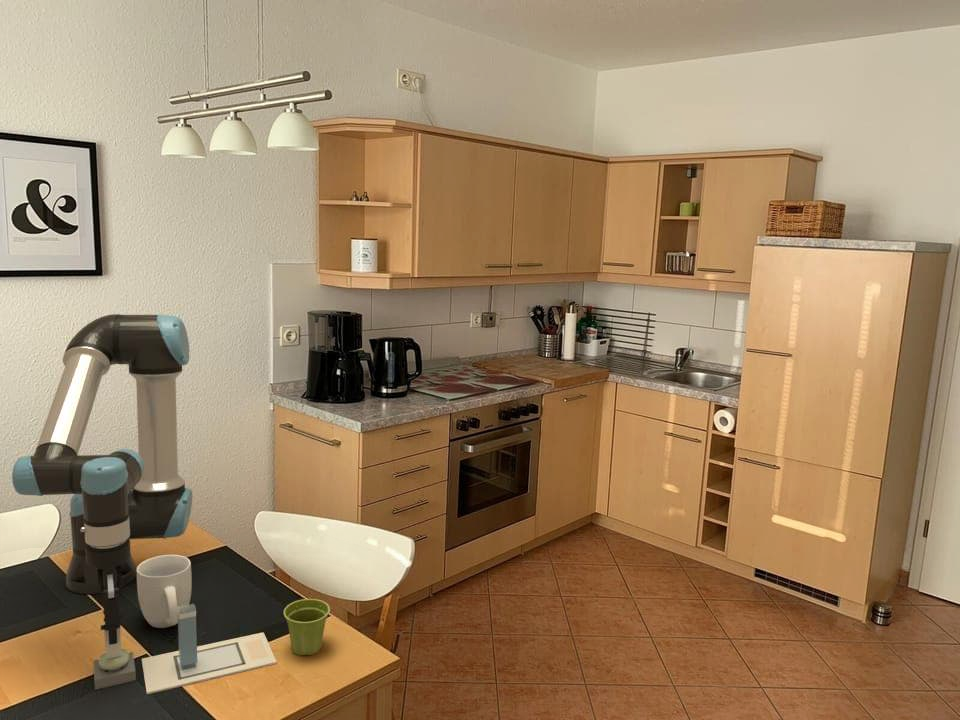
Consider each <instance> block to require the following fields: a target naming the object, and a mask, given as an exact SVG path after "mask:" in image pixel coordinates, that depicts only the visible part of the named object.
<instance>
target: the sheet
mask: <svg viewBox="0 0 960 720" xmlns="http://www.w3.org/2000/svg"><path fill="white" fill-rule="evenodd" d="M277 664H278V663H277V660H276V657H275V655H274V653H273V651H272V649H271V646H270V643H269V641H268V639H267V637H266V635H265V633H264V631H263V632H259V633H253V634H250V635H245V636H240V637H239V636H238V637H235V638H231V639H227V640H221V641H217V642H212V643H208V644H204V645H203V644H202V645H197V663H196V667H192V668H188V669H182V666H181V663H180V659H179V650H176V651H172V652H166V653H162V654H156V655H153V656H148V657H144V658H143V657H142V658H141V665H142V672H143V679H144V683H145V684H144V685H145V690H146V695H151V694H154V693H155V694H156V693H159V692H163V691H167V690H172V689H175V688H176V689H177V688H180V687H184V686H189V685H192V684H193V685H194V684H196V683H197V684H198V683H201V682H206V681H209V680H214V679H218V678H221V677H226V676H230V675H235V674H239V673H243V672H247V671H251V670H254V669H255V670H257V669H259V668H263V667H268V666H271V665H277Z"/></svg>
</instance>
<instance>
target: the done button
mask: <svg viewBox="0 0 960 720" xmlns="http://www.w3.org/2000/svg"><path fill="white" fill-rule="evenodd" d="M129 653H130V652H129V651H128V650H126V649H123V648H121V654H122V656H119V657H115V658H110V659H106V652H103V653H102V654H101V655H100V656H99V657H98V659H99V667H100V668H101V669H104V670H108V671H112V670H117V669H121V667H123V666H124V665H126V664H127V663H128V661H129Z"/></svg>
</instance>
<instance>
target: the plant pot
mask: <svg viewBox="0 0 960 720" xmlns="http://www.w3.org/2000/svg"><path fill="white" fill-rule="evenodd" d="M330 607H331V606H330V605H329V604H328V603H327V602H325V601H324V600H321V599H318V598H302V599H299V600H295V601H293V602H291V603H289V604H287V605H286V607H285V608H284V610H283V616H284V618H285V620H286V623H287V627H288V632H289V633H288V634H289V639H290V647H291V651H292V652H293V653H294V654H295V655H298V656H304V655H308V656H312V655H314V654H316V653H318V652H319V651H320V650H321V648H322V645H323V638H324V632H325V626H326V621H327V620H328V616H329V614H330V611H331V608H330Z"/></svg>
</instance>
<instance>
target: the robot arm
mask: <svg viewBox="0 0 960 720" xmlns="http://www.w3.org/2000/svg"><path fill="white" fill-rule="evenodd" d="M189 361H190V342H189V337H188V332H187V330H186V326H185V323H184V321H183V320H182V319H181V318H180V317H179V316H175V315H166V314H119V313H118V314H116V313H115V314H107V315H104V316H101V317H98V318H96V319H94V320H93V321H90V322H89V323H87V324H86V325H85V326H83V327H82V328H80V330H78V332H77V333H76V334H75V335H74V336H73V337H72V338H71V340H70V341H69V343H68V344H67V346H66V349H65V352H64V354H63V356H62V363H63V365H64V369H63V373H62V374H61V377H60V380H59V383H58V386H57V388H56V391H55V394H54V398H53V400H52V403H51V405H50V408H49V412H48V415H47V417H46V419H45V422H44V426H43V428H42V431H41V434H40V437H39V440H38V443H37V445H36V448H35V451H34V454H33V455H27V456H21V457H19V458H18V459H17V460H16V461H15V462H14V465H13V467H12V473H11V474H12V476H11V479H12V486H13V488H14V490H15V492H16V493H17V494H19V495H23V496H36V497H38V496H39V497H43V496H55V495H72V496H71V498H70V504H69V505H70V512H69V517H70V527H71V543H72V544H71V545H72V554H71V559H70V562H69V565H68V569H67V572H66V576H65V585H66V588H67V589H68V590H69V591H71V592H73V593H76V594H83V595H94V594H95V595H96V594H99V595H100V597H101V598H102V599H103V601H102V602H103V611H102V614H103V616H104V618H103V622H104V624H101V625H100V631H104V647H105V652H106V659H110V658H115V657H119V656H122V654H121V649H122V638H121V637H122V636H121V621H122V620H124V616H123V614H120V601H119V600H120V598H119V597H120V596H119V595H120V594H121V592H122V588H123V587H125V586H126V585H128V584H130V583H131V582H133V580H134V579H135V578H136V577H137V566H136V563H135V561H134V558H133V556H132V553H131V540H142V539H143V540H145V539H165V540H166V539H168V538H169V539H170V538H178V537H181V536H183V534H185V533H186V530H187V528H188V524H189V521H190V516H191V512H192V511H191V510H192V506H193V505H192V504H193V490H192V488H189V487H186V481H185V479H184V478H182V477H181V476H180V475H179V474H178V473H179V469H178V466H179V465H178V464H179V463H178V431H177V430H178V428H177V427H178V425H177V423H178V422H177V389H176V388H177V382H176V379H177V378H178V377H179V376H180V374H182V373H183V366H186V365H188V364H189ZM114 365H128V374H129V375H131V377H133V378H134V379H135V385H136V386H135V387H136V412H137V413H136V416H137V420H136V421H137V445H138V446H137V447H138V450H137V451H138V452H136V451H134V450H132V449H129V448H120V449H117V450H115V451H112V452H111V453H109V454H95V455H94V454H89V455H88V454H87V455H86V454H85V455H81V454H79V452H80V448H81V446H82V443H83V438H84V437H85V433H86V430H87V426H88V423H89V419H90V417H91V413H92V410H93V406H94V403H95V401H96V397H97V394H98V391H99V387H100V384H101V381H102V377H103V376H105V375H106V374H107V373H108V372H109V371H110V368H111V366H114ZM105 652H104V653H105Z"/></svg>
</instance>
